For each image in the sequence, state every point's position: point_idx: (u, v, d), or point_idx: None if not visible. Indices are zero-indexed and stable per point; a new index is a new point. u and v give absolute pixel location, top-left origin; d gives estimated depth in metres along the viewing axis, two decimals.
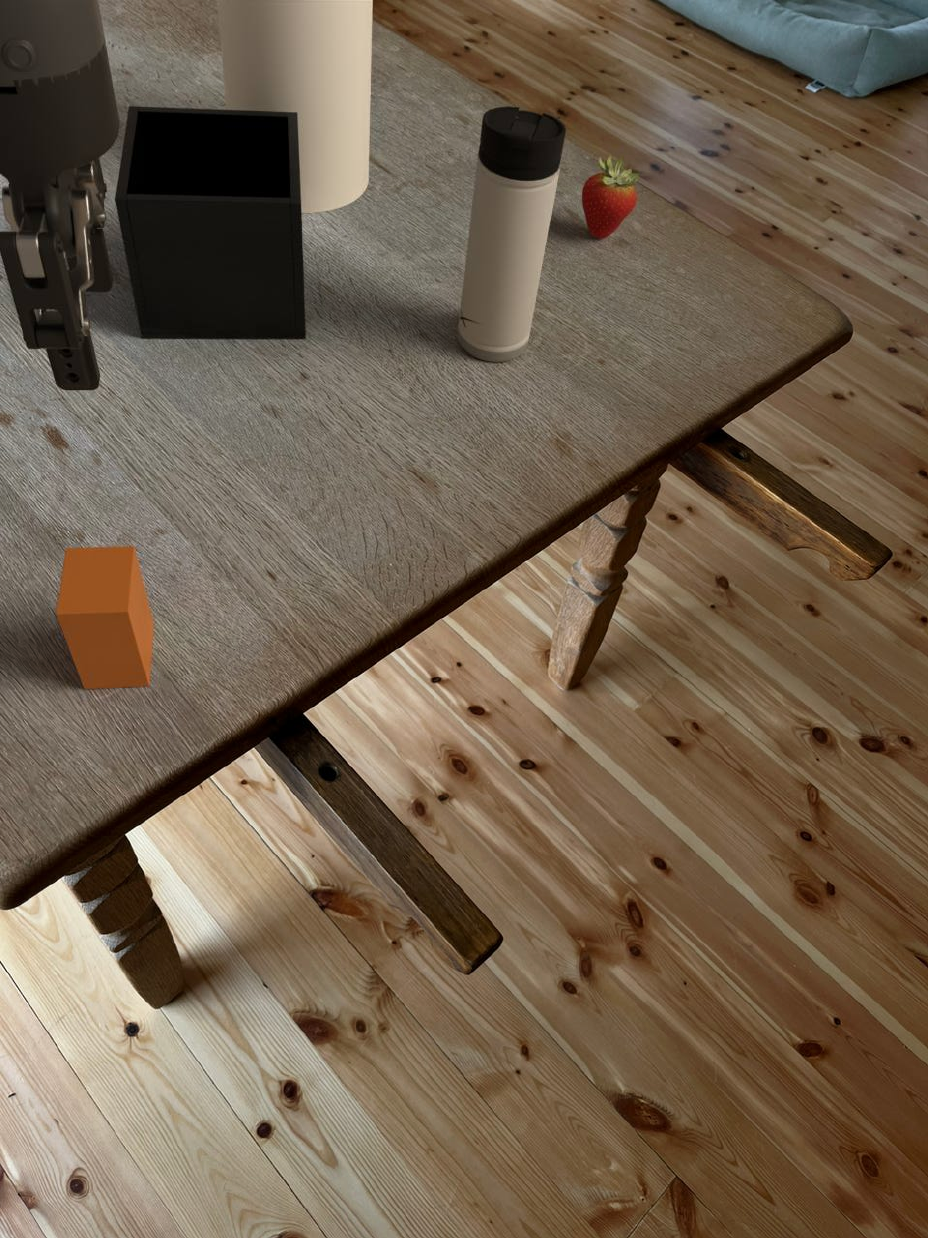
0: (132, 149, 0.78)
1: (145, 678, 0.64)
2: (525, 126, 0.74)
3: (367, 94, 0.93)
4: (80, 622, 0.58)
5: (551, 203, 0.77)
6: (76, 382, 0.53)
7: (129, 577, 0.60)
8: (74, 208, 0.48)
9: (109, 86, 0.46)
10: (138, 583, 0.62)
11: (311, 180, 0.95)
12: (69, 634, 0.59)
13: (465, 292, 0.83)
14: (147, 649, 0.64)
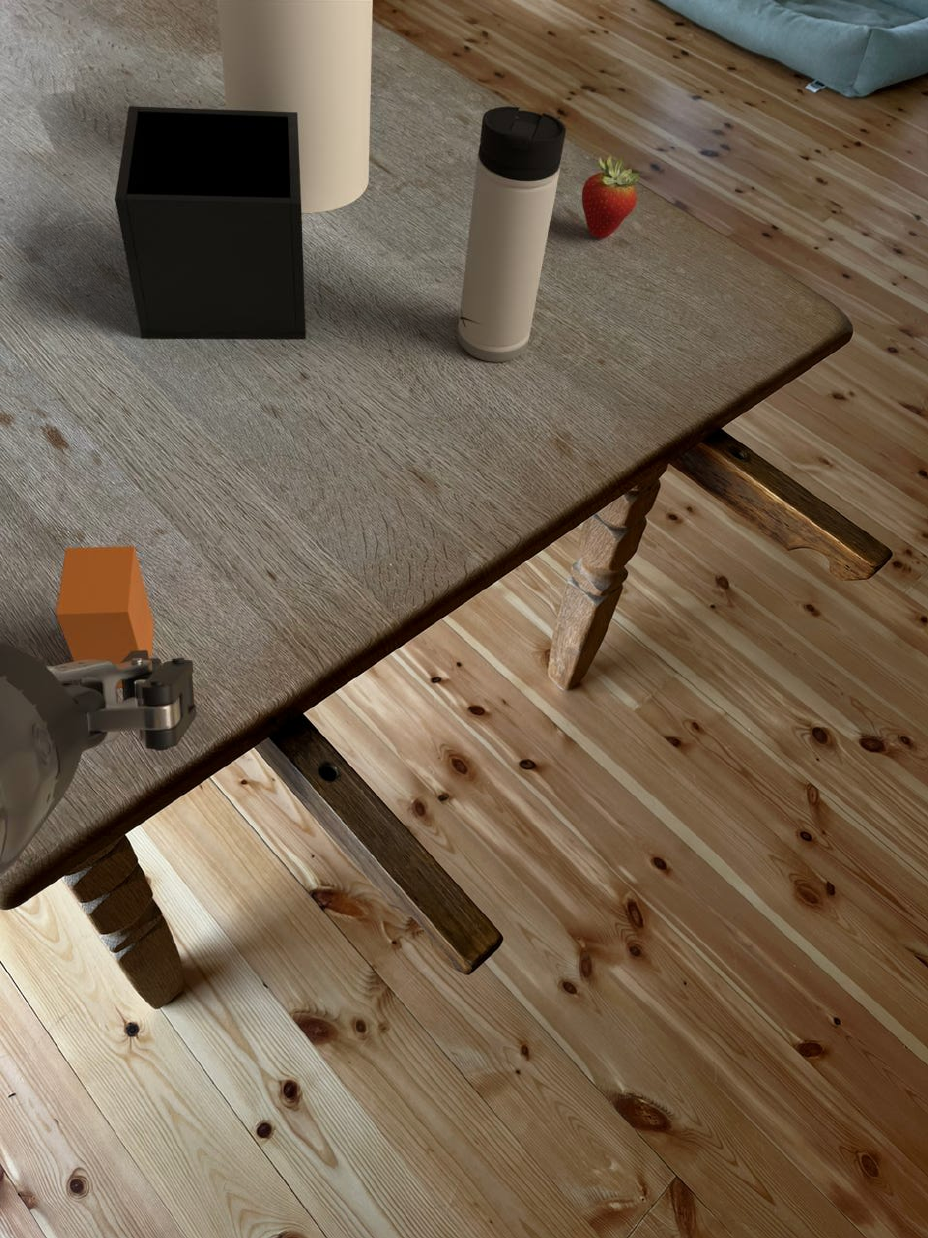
0: (132, 149, 0.78)
1: None
2: (525, 126, 0.73)
3: (367, 94, 0.93)
4: (80, 622, 0.58)
5: (551, 203, 0.77)
6: None
7: (129, 577, 0.60)
8: None
9: None
10: (138, 583, 0.62)
11: (311, 180, 0.95)
12: (69, 634, 0.59)
13: (465, 292, 0.83)
14: (147, 649, 0.64)
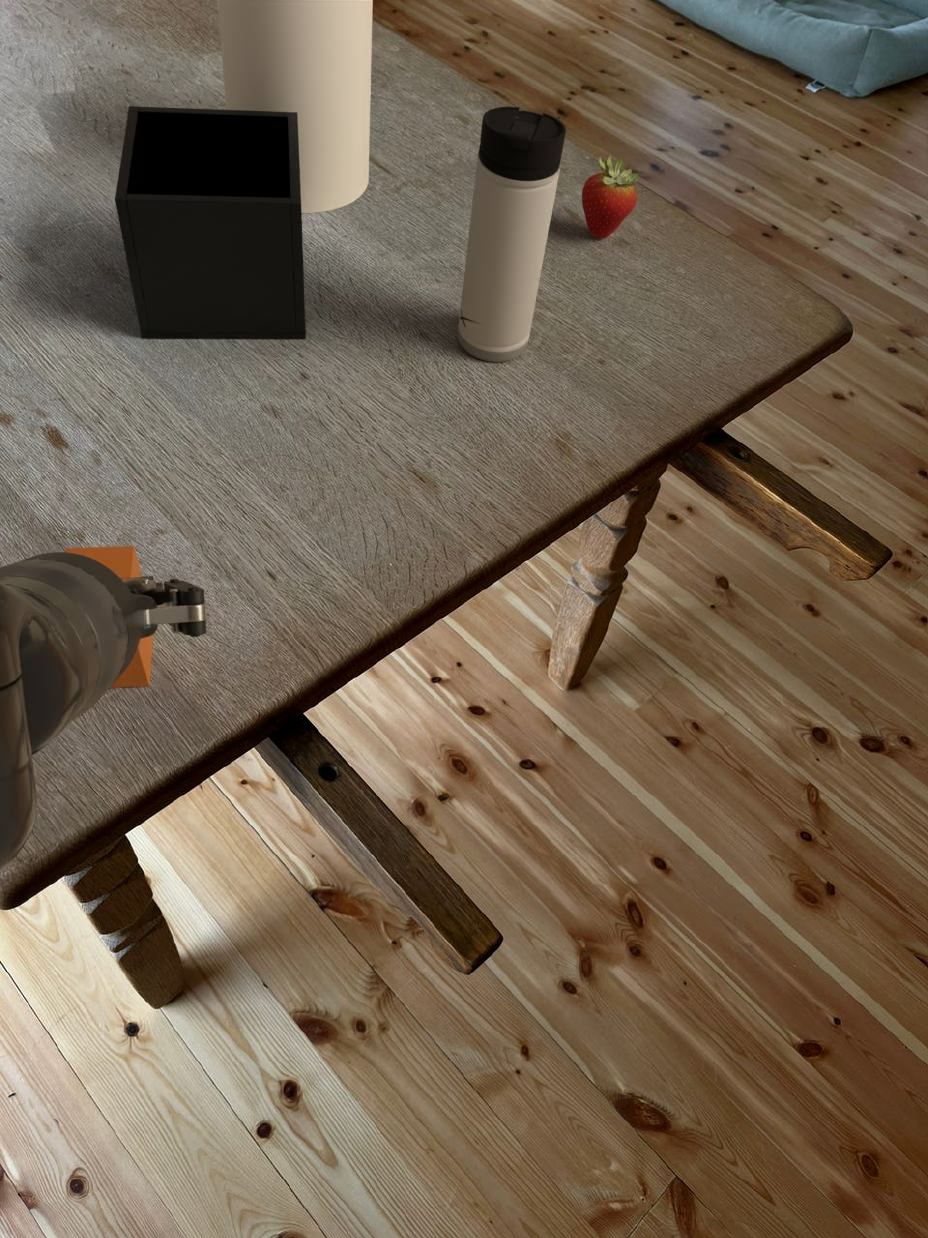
0: (132, 149, 0.78)
1: (145, 677, 0.64)
2: (525, 126, 0.73)
3: (367, 94, 0.93)
4: None
5: (551, 203, 0.77)
6: None
7: (129, 576, 0.60)
8: None
9: (57, 556, 0.48)
10: None
11: (311, 180, 0.95)
12: None
13: (465, 292, 0.83)
14: (147, 649, 0.64)
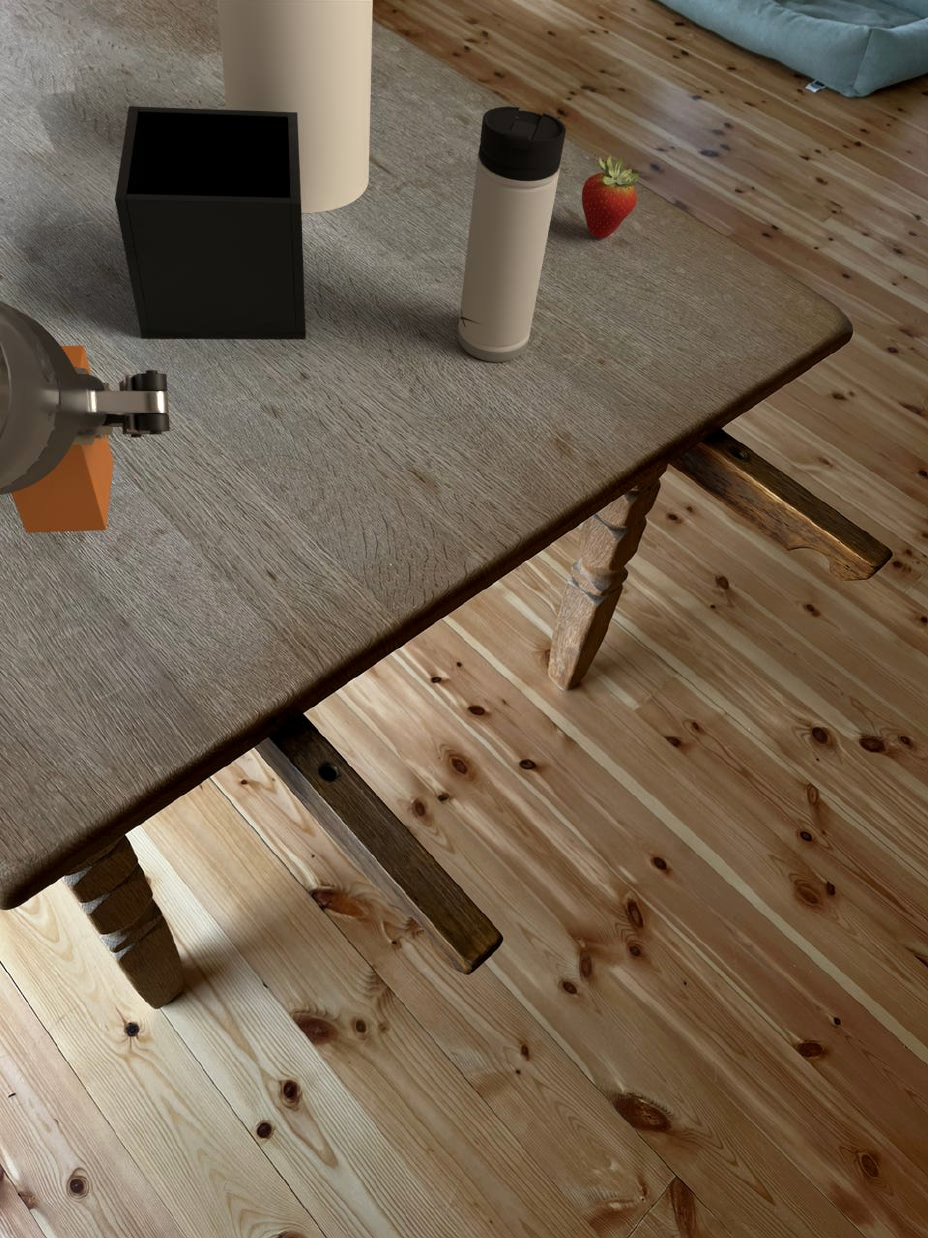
0: (132, 149, 0.78)
1: (101, 517, 0.52)
2: (525, 126, 0.73)
3: (367, 94, 0.93)
4: None
5: (551, 203, 0.77)
6: None
7: None
8: None
9: None
10: None
11: (311, 180, 0.95)
12: None
13: (465, 292, 0.83)
14: (103, 484, 0.52)
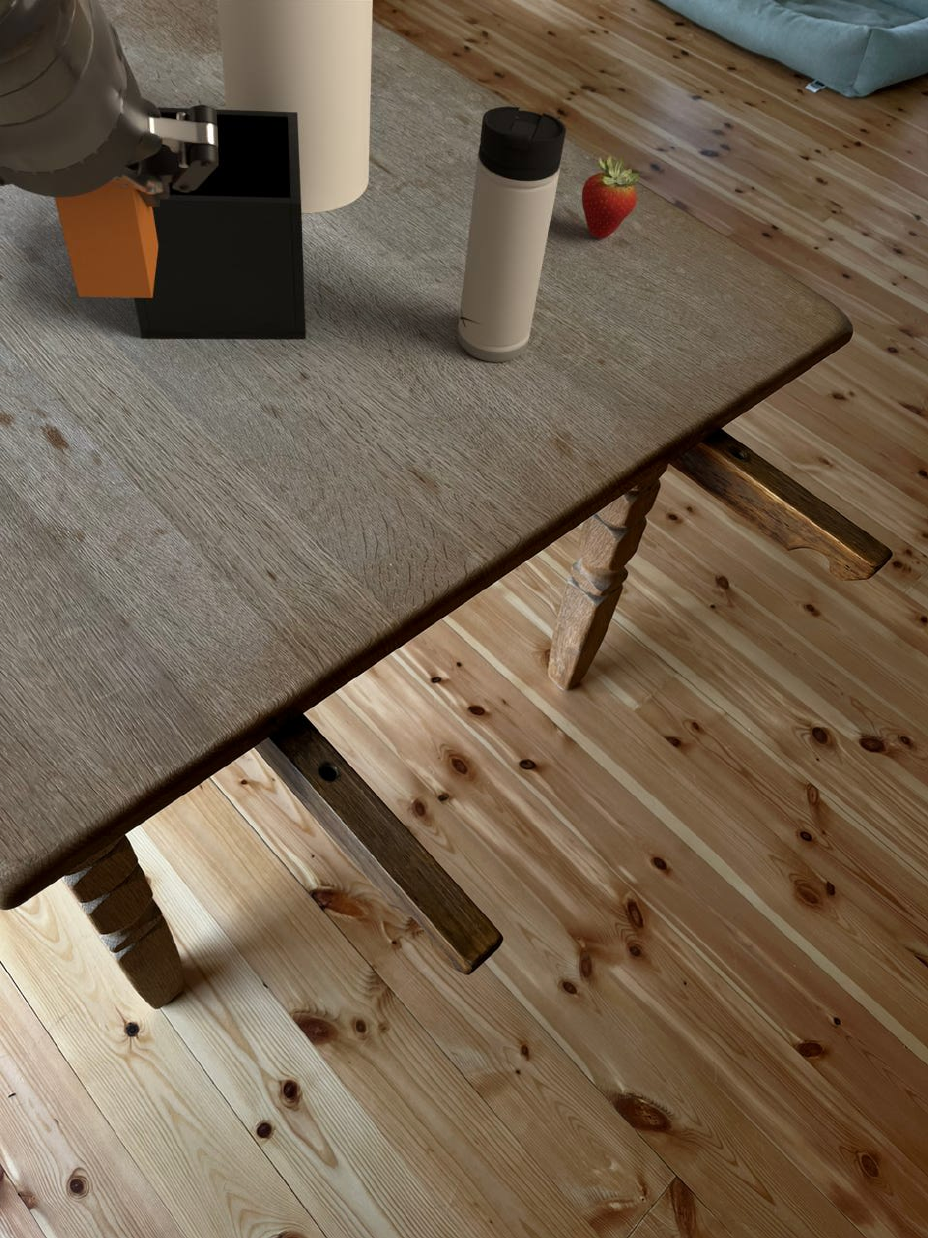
0: None
1: (148, 282, 0.56)
2: (525, 126, 0.73)
3: (367, 94, 0.93)
4: None
5: (551, 203, 0.77)
6: None
7: None
8: None
9: None
10: None
11: (311, 180, 0.95)
12: (61, 197, 0.52)
13: (465, 292, 0.83)
14: (150, 254, 0.57)
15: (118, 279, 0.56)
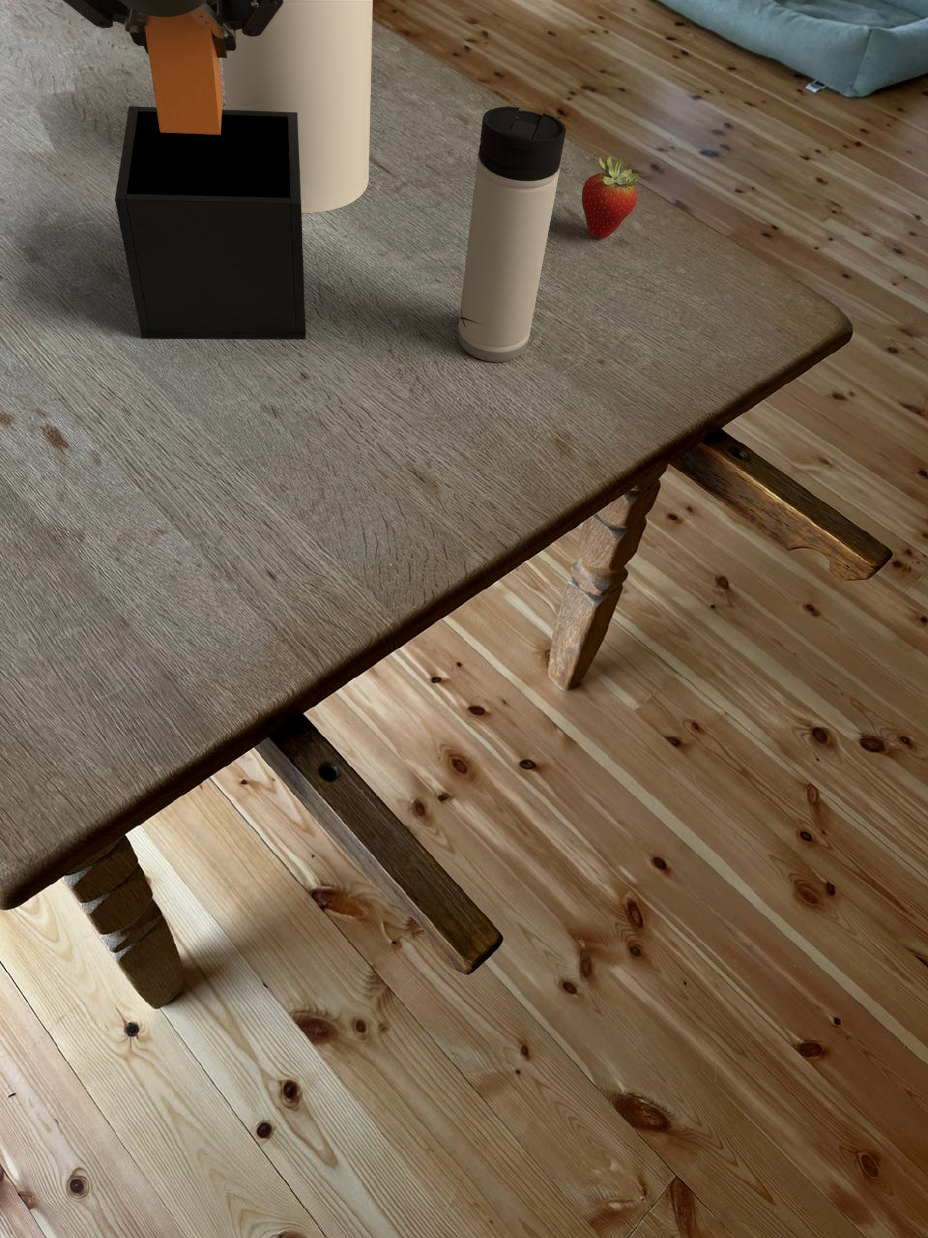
0: (132, 149, 0.78)
1: (217, 120, 0.68)
2: (525, 126, 0.73)
3: (367, 94, 0.93)
4: (163, 20, 0.63)
5: (551, 203, 0.77)
6: (235, 34, 0.67)
7: None
8: None
9: None
10: None
11: (311, 180, 0.95)
12: (151, 39, 0.63)
13: (465, 292, 0.83)
14: (219, 98, 0.68)
15: (193, 116, 0.68)
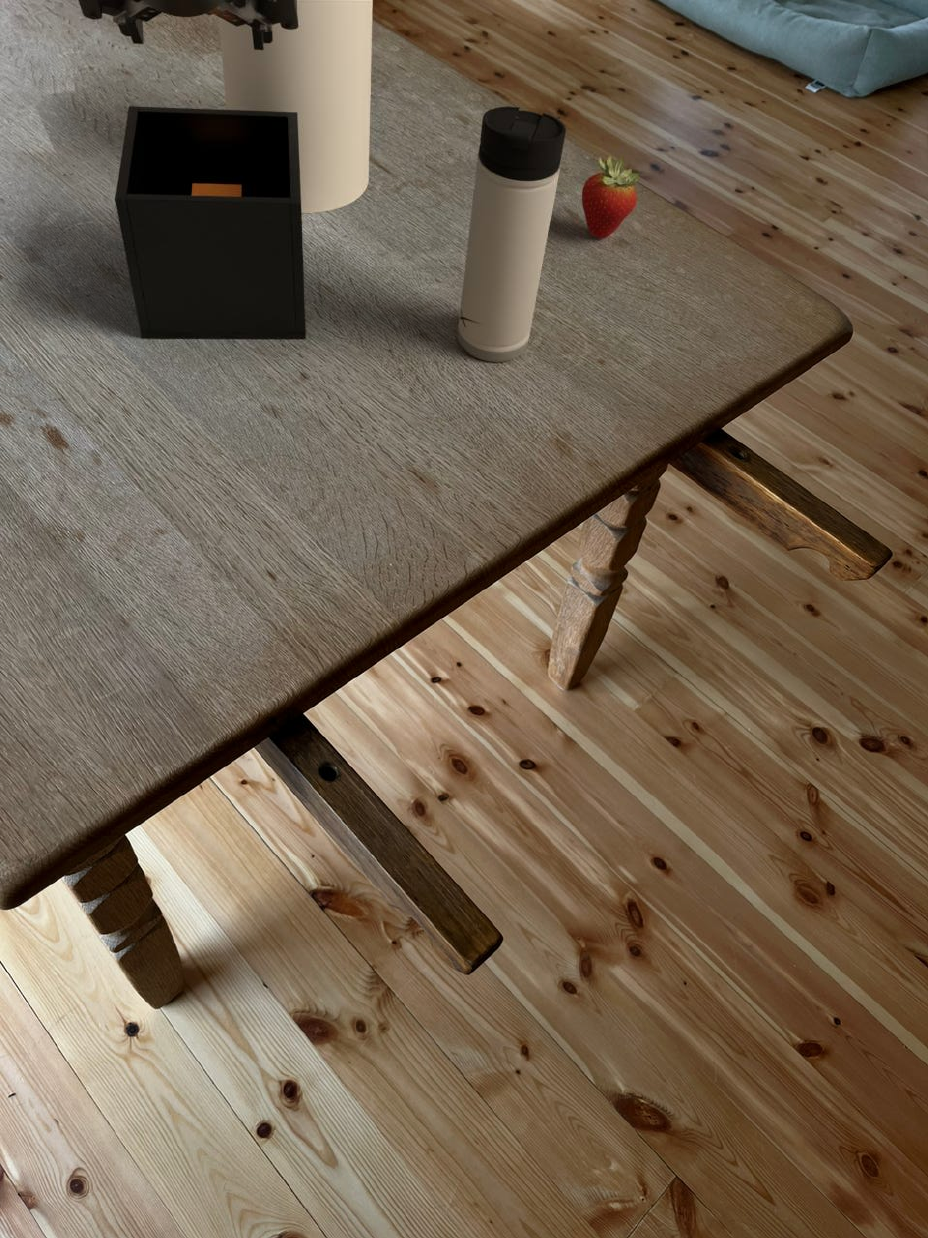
0: (132, 149, 0.78)
1: None
2: (525, 126, 0.73)
3: (367, 94, 0.93)
4: None
5: (551, 203, 0.77)
6: None
7: None
8: None
9: None
10: None
11: (311, 180, 0.95)
12: None
13: (465, 292, 0.83)
14: None
15: None
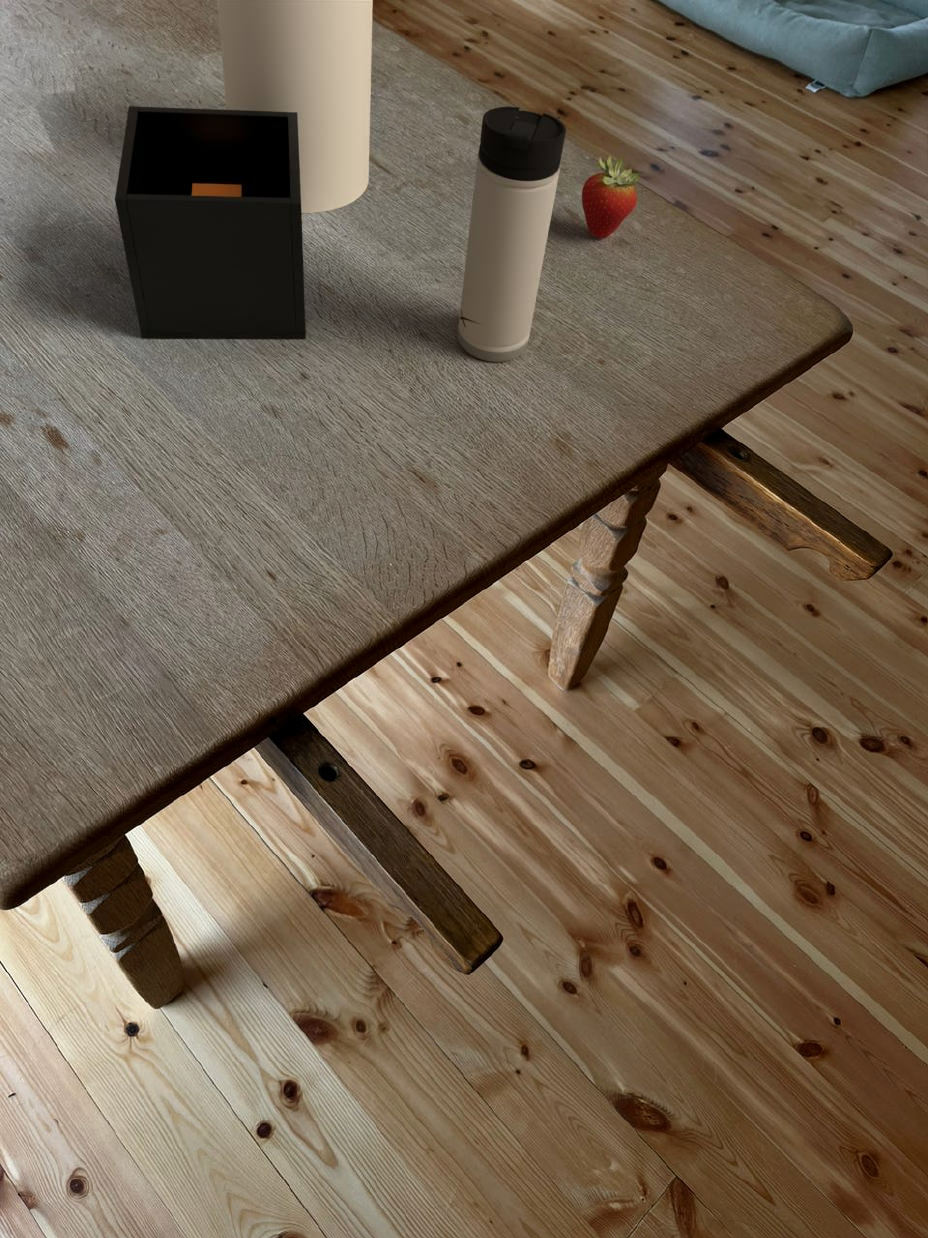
0: (132, 149, 0.78)
1: None
2: (525, 126, 0.73)
3: (367, 94, 0.93)
4: None
5: (551, 203, 0.77)
6: None
7: None
8: None
9: None
10: None
11: (311, 180, 0.95)
12: None
13: (465, 292, 0.83)
14: None
15: None
